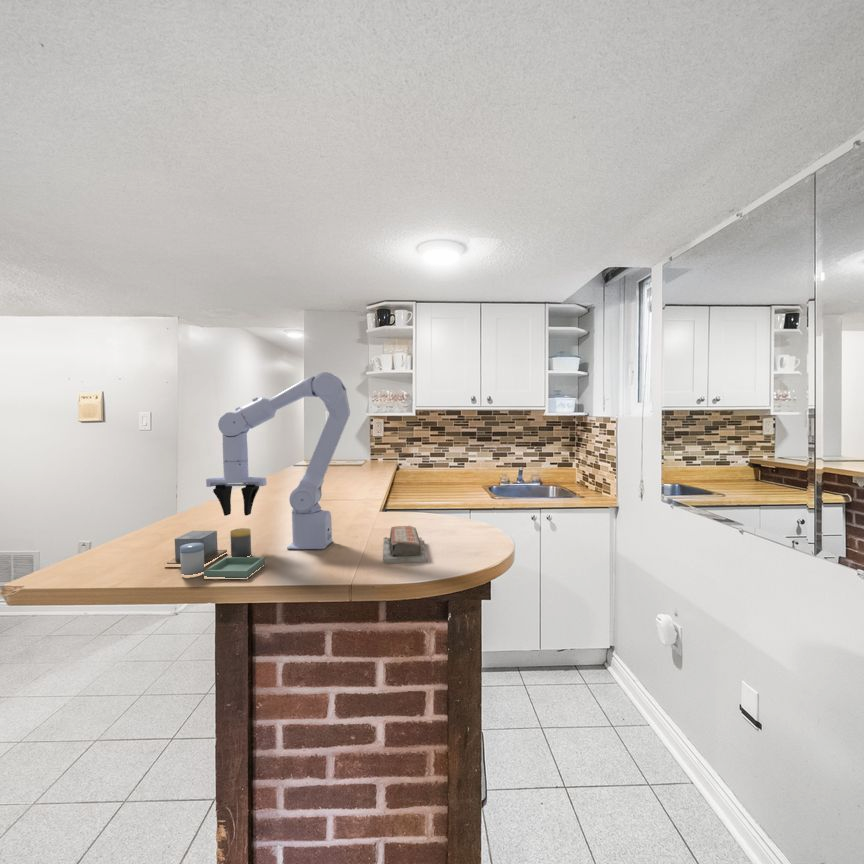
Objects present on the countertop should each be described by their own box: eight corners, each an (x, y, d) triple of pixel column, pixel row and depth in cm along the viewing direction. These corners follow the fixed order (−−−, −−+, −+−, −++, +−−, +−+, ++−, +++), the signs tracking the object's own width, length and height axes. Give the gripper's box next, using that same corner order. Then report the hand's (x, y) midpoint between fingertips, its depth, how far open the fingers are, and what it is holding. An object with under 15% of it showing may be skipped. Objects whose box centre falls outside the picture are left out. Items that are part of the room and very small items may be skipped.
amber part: (254, 553, 112) (253, 528, 111) (246, 559, 107) (245, 532, 107) (236, 553, 112) (235, 528, 112) (227, 559, 108) (226, 532, 107)
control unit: (227, 553, 112) (226, 529, 112) (204, 567, 102) (203, 540, 102) (190, 553, 112) (189, 529, 112) (164, 567, 102) (163, 540, 102)
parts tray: (265, 565, 103) (265, 557, 103) (247, 579, 94) (246, 570, 94) (225, 565, 103) (225, 557, 103) (203, 579, 94) (203, 570, 94)
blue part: (208, 571, 99) (207, 542, 99) (197, 578, 95) (196, 548, 95) (188, 571, 100) (187, 542, 99) (176, 578, 95) (175, 548, 95)
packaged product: (383, 525, 120) (421, 523, 121) (383, 543, 120) (421, 542, 121) (382, 544, 102) (427, 542, 103) (382, 566, 102) (427, 564, 103)
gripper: (270, 458, 120) (272, 511, 120) (215, 459, 120) (217, 511, 121) (258, 461, 113) (260, 517, 113) (200, 462, 113) (202, 517, 114)
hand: (237, 514), depth 116 cm, fingers open, 5 cm apart
